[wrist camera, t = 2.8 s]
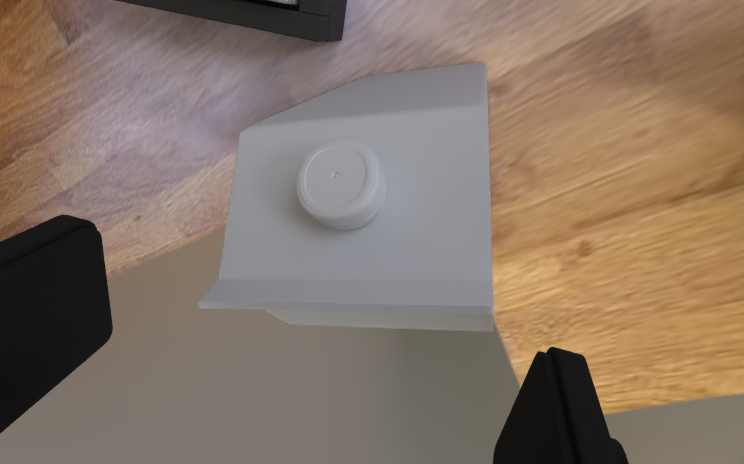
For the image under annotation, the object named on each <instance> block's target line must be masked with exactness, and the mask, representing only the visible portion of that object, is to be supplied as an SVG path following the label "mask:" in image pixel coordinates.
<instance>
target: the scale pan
mask: <svg viewBox="0 0 744 464" xmlns="http://www.w3.org/2000/svg"><path fill="white" fill-rule="evenodd" d="M269 1H274V2H279V3H284V4H293V5H298V4H299V0H269Z"/></svg>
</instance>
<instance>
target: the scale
mask: <svg viewBox="0 0 744 464" xmlns="http://www.w3.org/2000/svg"><path fill="white" fill-rule="evenodd" d="M116 1H121V2H126V3H131V4H136V5H141V6H145V7H150V8H155V9H160V10H165V11H170V12H175V13H180V14H185V15H189V16H194V17H199V18H204V19H209V20H214V21H219V22H224V23H228V24H233V25H238V26H243V27H248V28H253V29H258V30H263V31H268V32H272V33H277V34H282V35H287V36H292V37H297V38H302V39H307V40H312V41H316V42H320V41H325V42H331V41H340V40H342V34H343V26H344V18H345V10H346V2H347V0H299V4H298V5H293V4H284V3H279V2H274V1H269V0H116Z"/></svg>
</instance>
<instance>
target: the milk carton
mask: <svg viewBox="0 0 744 464" xmlns="http://www.w3.org/2000/svg"><path fill="white" fill-rule="evenodd" d="M197 304H198V307H199V308H214V309H255V310H264V311H266V312H268V313H269V314H271V315H273V316H274V317H276V318H278V319H280V320H281V321H283V322H285V323H286V324H289V325H308V326H309V325H310V326H338V327H339V326H340V327H368V328H369V327H370V328H399V329H429V330H460V331H493V279H492V240H491V200H490V161H489V121H488V91H487V65H486V63H485V62H478V63H469V64H460V65H452V66H443V67H435V68H426V69H418V70H410V71H401V72H393V73H384V74H376V75H369V76H364V77H361V78H359V79H357V80H354V81H352V82H350V83H348V84H345V85H343V86H341V87H338V88H336V89H334V90H331V91H329V92H327V93H324V94H322V95H320V96H317V97H315V98H313V99H310V100H308V101H306V102H303V103H301V104H299V105H296V106H294V107H292V108H289V109H287V110H285V111H282V112H280V113H278V114H275V115H273V116H271V117H269V118H266V119H264V120H262V121H259V122H257V123H255V124H253V125H251V126H249V127H247V128H246V129H244V130H243V131H241V132H240V137H239V143H238V150H237V156H236V163H235V170H234V177H233V184H232V190H231V197H230V204H229V211H228V217H227V224H226V231H225V238H224V244H223V251H222V258H221V265H220V271H219V278H218V281H217V282H216V283H215V284H214V285H213V286H212V287H211V288H210V289H209V290H208V291H207V292H206V293H205V294H204V295H203V296H202V297H201V298H199V299H198V300H197Z"/></svg>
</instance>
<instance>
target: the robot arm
mask: <svg viewBox="0 0 744 464" xmlns="http://www.w3.org/2000/svg"><path fill="white" fill-rule="evenodd" d="M112 328H113V326H112V318H111V310H110V302H109V294H108V285H107V277H106V269H105V261H104V253H103V245H102V237H101V234H100V233H99V231H97V228H96V226H95V225H94V223H92V222H90V221H88V220H84V219H80V218H77V217H73V216H69V215H60V216H57V217H54V218H52V219H50V220H48V221H46V222H43V223H41V224H39V225H37V226H35V227H32V228H30V229H28V230H26V231H24V232H21V233H19V234H17V235H15V236H13V237H10V238H8V239H6V240H4V241H2V242H0V433H1V432H2V431H4V430H5V429H6V428H7V427H8V426H9V425H10V424H12V423H13V422H14V421H15V420H16V419H18V418H19V417H20V416H21V415H22V414H24V413H25V412H26V411H27V410H28V409H29V408H30V407H32V406H33V405H34V404H35V403H36V402H37V401H39V400H40V399H41V398H42V397H43V396H45V395H46V394H47V393H48V392H49V391H50V390H52V389H53V388H54V387H55V386H56V385H58V384H59V383H60V382H61V381H62V380H63V379H65V378H66V377H67V376H68V375H69V374H70V373H72V372H73V371H74V370H75V369H76V368H77V367H79V366H80V365H81V364H82V363H83V362H85V361H86V360H87V359H88V358H89V357H90V356H92V355H93V354H94V353H95V352H96V351H97V350H99V349H100V348H101V347H102V346H103V345H104V344H105V343H106V342H107V341H108V340H109V338H110V336H111V334H112V330H113V329H112ZM493 464H629V463H628V460H627V457H626V454H625V452H624V450H623V447H622V445H621V444H620V443H619V442H618V441H617V440H616V439H612V438H610V435H609V432H608V428H607V425H606V422H605V419H604V416H603V413H602V409H601V406H600V403H599V400H598V397H597V394H596V391H595V387H594V384H593V381H592V378H591V375H590V372H589V369H588V365H587V362H586V360H585V358H584V356H583V355H581V354H577V353H573V352H570V351H566V350H562V349H559V348H555V347H550V348H549V349H548V351H547V352H546V353H544V352H540V351H539V352H538V353H537V354H536V356H535V357H534V360H533V362H532V364H531V366H530V369H529V371H528V373H527V376H526V378H525V380H524V382H523V385H522V387H521V389H520V391H519V394H518V396H517V398H516V400H515V403H514V405H513V407H512V410H511V412H510V414H509V416H508V418H507V421H506V423H505V425H504V427H503V430H502V432H501V435H500V437H499V439H498V441H497V444H496V446H495V451H494V458H493Z"/></svg>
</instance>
